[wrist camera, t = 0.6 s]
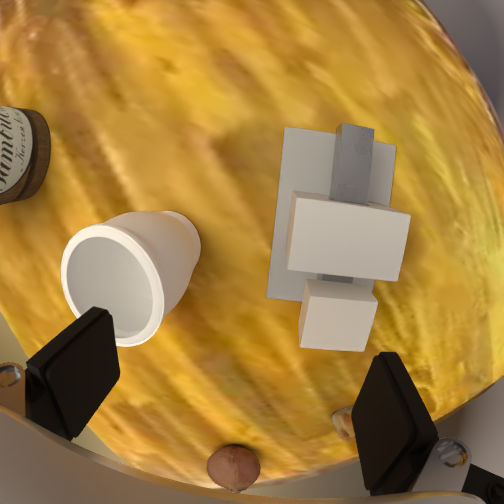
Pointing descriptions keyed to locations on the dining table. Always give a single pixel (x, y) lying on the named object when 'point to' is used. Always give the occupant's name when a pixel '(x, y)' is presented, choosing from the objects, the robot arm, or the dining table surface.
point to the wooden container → (22, 153)
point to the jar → (131, 270)
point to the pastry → (344, 422)
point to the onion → (233, 468)
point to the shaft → (350, 172)
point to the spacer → (336, 315)
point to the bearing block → (332, 220)
